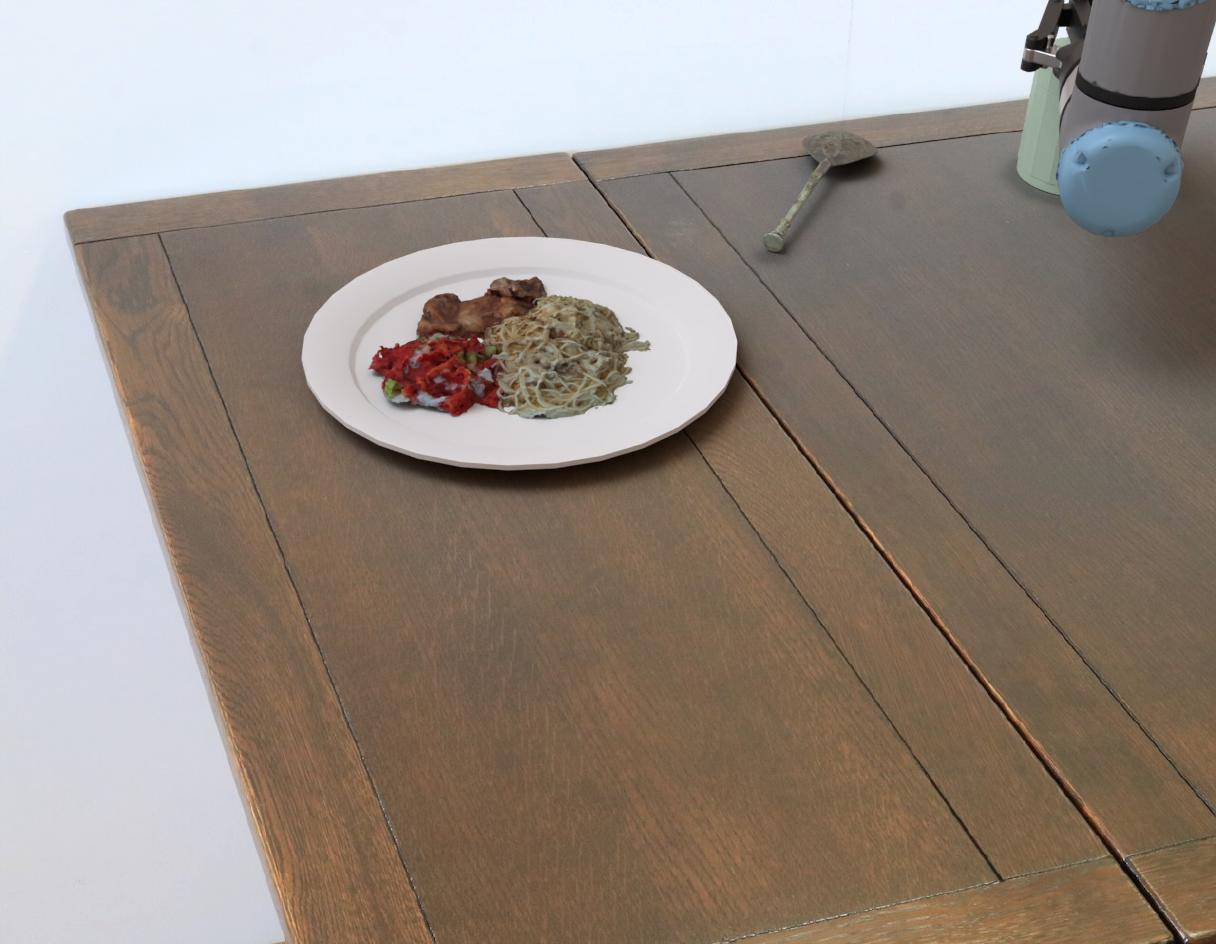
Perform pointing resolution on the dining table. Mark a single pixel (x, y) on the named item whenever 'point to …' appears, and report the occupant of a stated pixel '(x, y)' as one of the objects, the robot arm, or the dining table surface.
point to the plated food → (519, 353)
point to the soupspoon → (821, 171)
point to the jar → (1042, 131)
